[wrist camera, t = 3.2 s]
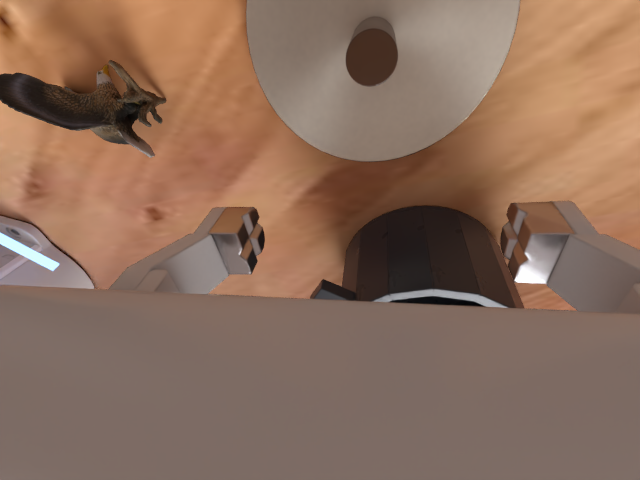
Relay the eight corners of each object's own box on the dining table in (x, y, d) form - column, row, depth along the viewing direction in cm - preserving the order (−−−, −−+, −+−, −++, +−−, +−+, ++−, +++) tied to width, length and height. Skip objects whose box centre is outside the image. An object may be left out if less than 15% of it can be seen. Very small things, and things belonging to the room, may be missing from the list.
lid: (407, 186, 27) (412, 229, 22) (227, 96, 24) (193, 125, 20) (586, -45, 16) (657, -48, 12) (308, -248, 14) (275, -343, 9)
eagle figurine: (117, 11, 20) (-11, 40, 21) (108, 102, 18) (-34, 132, 19) (182, 97, 27) (85, 117, 28) (181, 170, 25) (76, 189, 26)
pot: (451, 333, 39) (466, 416, 32) (300, 269, 35) (280, 347, 28) (558, 259, 29) (614, 355, 22) (367, 164, 26) (361, 240, 19)
